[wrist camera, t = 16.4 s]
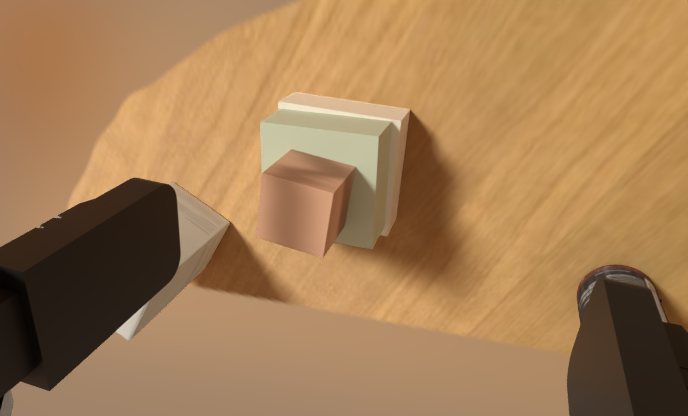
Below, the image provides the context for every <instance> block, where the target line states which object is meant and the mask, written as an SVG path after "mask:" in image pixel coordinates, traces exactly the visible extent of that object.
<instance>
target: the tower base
mask: <svg viewBox="0 0 688 416" xmlns="http://www.w3.org/2000/svg"><path fill="white" fill-rule="evenodd" d="M281 108H282V109H291V110H300V111H309V112H317V113H326V114H335V115H343V116H352V117H361V118H369V119H378V120H387V121H392V124H391V139H390V153H389V168H388V183H387V197H386V212H385V227H384V229H383V230H382V232H381V234H380V235H382V236H386V237H387V236H388V234H389V232H390V230H391V228H392V226H393V224H394V222H395V220H396V217H397V209H398V202H399V194H400V186H401V178H402V170H403V163H404V155H405V147H406V139H407V131H408V124H409V116H410V109H406V108H399V107H392V106H386V105H379V104H373V103H366V102H360V101H353V100H347V99H340V98H334V97H327V96H320V95H314V94H307V93H301V92H293V93H292V94H290V95H288V96H287V97H285V98H283V99H281V100H280V101H278V110H280V109H281Z"/></svg>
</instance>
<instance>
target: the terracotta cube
mask: <svg viewBox="0 0 688 416" xmlns="http://www.w3.org/2000/svg"><path fill="white" fill-rule="evenodd" d="M354 173H355V166H351V165H348V164H344V163H341V162H337V161H333V160H330V159H326V158H322V157H319V156H315V155H311V154H308V153H304V152H300V151H297V150H293V149H291V150H290V151H288V152H287V153H286V154H285V155H284V156H282V157H281V158H280V159H279V160H277V161H276V162H275V163H274V164H273V165H271V166H270V167H269V168H268V169H266V170H265V171H264V172H263V173H262V181H261V191H260V202H259V212H258V223H257V234H256V237H257V238H260V239H263V240H266V241H269V242H273V243H276V244H279V245H282V246H285V247H289V248H292V249H295V250H298V251H301V252H305V253H308V254H311V255H314V256H317V257H321V258H323V257H324V256H325V254H326V253H327V251H328V250H329V249H330V247H331V246H332V244H333V243H334V241H335V240H336V238H337V237H338V235H339V234H340V232H341V231H342V230H343V228H344V227H345V222H346V217H347V211H348V206H349V200H350V195H351V189H352V184H353V178H354Z"/></svg>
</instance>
